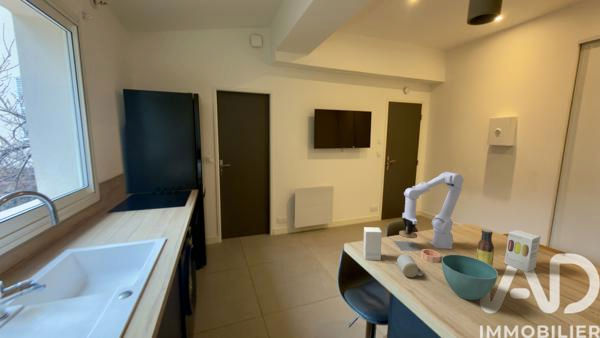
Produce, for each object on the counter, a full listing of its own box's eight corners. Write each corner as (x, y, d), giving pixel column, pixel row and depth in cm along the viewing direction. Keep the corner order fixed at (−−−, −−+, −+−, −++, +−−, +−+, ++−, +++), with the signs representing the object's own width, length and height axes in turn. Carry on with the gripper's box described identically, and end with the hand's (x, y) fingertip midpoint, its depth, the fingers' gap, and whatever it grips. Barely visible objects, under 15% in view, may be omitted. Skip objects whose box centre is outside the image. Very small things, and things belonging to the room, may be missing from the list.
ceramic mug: (402, 278, 105) (404, 262, 104) (395, 268, 113) (397, 253, 112) (426, 279, 104) (428, 263, 104) (418, 269, 113) (419, 254, 112)
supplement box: (503, 263, 119) (507, 231, 117) (511, 259, 124) (516, 229, 122) (528, 272, 111) (533, 239, 109) (536, 268, 115) (541, 235, 113)
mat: (412, 242, 143) (412, 241, 143) (422, 251, 131) (422, 250, 131) (393, 241, 143) (393, 241, 143) (401, 251, 131) (401, 250, 131)
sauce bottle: (494, 274, 109) (499, 234, 106) (479, 273, 110) (484, 232, 108) (486, 267, 115) (491, 228, 113) (472, 265, 116) (476, 227, 114)
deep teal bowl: (470, 313, 84) (473, 282, 82) (429, 283, 101) (431, 257, 100) (505, 304, 89) (510, 274, 87) (461, 277, 106) (463, 252, 105)
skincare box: (378, 254, 126) (379, 227, 124) (381, 261, 119) (382, 232, 118) (362, 253, 127) (363, 226, 125) (364, 260, 120) (365, 231, 118)
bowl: (434, 254, 127) (434, 249, 127) (443, 263, 118) (444, 257, 118) (417, 254, 127) (418, 248, 127) (426, 262, 118) (426, 257, 118)
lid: (412, 232, 140) (413, 224, 140) (420, 238, 131) (421, 230, 130) (396, 231, 141) (397, 223, 140) (403, 238, 131) (404, 229, 130)
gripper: (398, 205, 141) (396, 227, 143) (408, 212, 127) (407, 236, 128) (409, 205, 141) (408, 227, 143) (421, 213, 127) (419, 237, 128)
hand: (408, 231), depth 135 cm, fingers closed on lid, 3 cm apart
